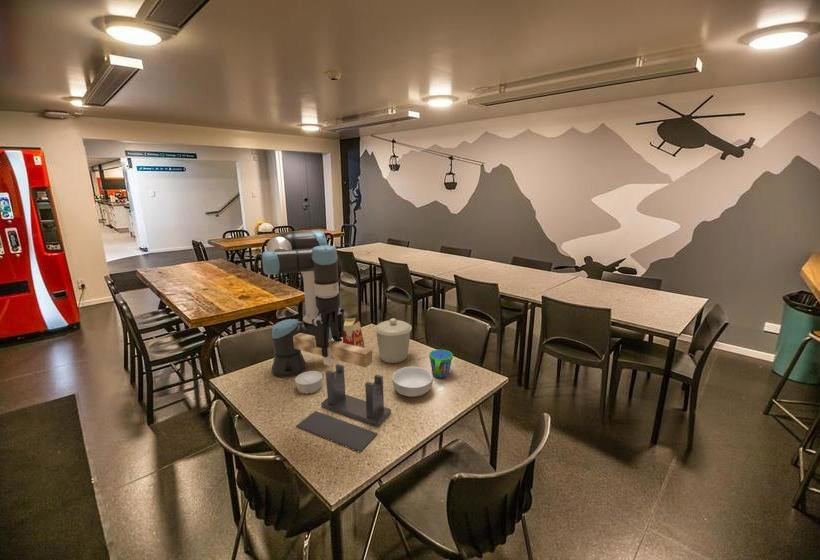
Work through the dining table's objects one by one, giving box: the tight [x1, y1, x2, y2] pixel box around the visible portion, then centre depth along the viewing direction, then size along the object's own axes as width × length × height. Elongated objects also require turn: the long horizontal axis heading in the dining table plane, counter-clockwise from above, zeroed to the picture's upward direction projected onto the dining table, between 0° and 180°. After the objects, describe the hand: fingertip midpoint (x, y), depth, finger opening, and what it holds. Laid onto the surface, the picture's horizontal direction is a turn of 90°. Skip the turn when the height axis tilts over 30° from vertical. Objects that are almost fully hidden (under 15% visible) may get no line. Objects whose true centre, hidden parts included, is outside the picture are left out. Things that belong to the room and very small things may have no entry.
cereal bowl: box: [391, 366, 434, 397], centre depth 153 cm, size 17×17×7 cm
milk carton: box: [342, 317, 366, 348], centre depth 185 cm, size 9×9×20 cm
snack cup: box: [428, 349, 454, 379], centre depth 165 cm, size 16×10×10 cm
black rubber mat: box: [295, 410, 378, 453], centre depth 129 cm, size 28×10×1 cm, turn 62°
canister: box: [374, 317, 413, 364], centre depth 180 cm, size 18×18×21 cm
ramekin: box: [294, 370, 323, 395], centre depth 156 cm, size 11×11×5 cm
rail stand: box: [321, 363, 392, 428], centre depth 139 cm, size 26×9×16 cm, turn 62°
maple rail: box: [293, 333, 373, 368], centre depth 121 cm, size 30×4×4 cm, turn 62°
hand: (331, 361), depth 123 cm, fingers closed on maple rail, 4 cm apart
